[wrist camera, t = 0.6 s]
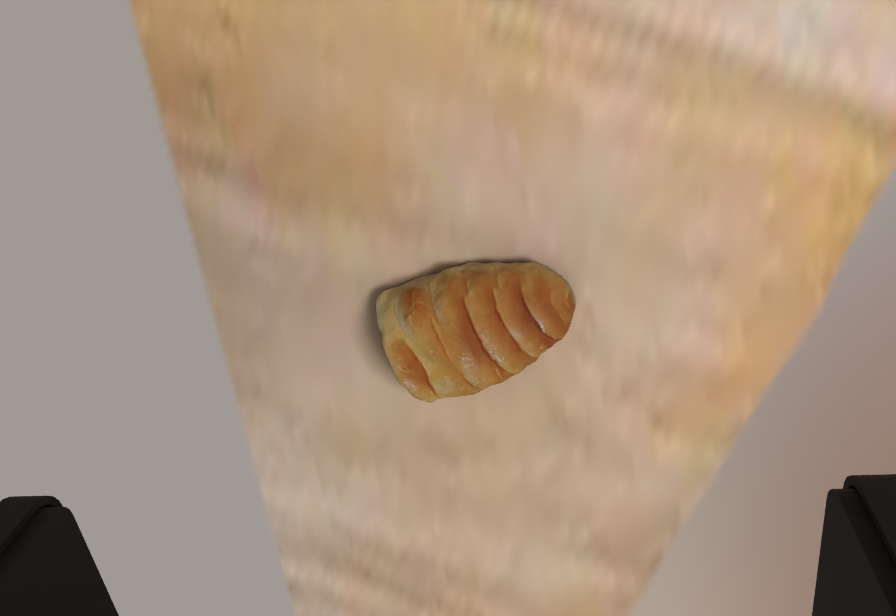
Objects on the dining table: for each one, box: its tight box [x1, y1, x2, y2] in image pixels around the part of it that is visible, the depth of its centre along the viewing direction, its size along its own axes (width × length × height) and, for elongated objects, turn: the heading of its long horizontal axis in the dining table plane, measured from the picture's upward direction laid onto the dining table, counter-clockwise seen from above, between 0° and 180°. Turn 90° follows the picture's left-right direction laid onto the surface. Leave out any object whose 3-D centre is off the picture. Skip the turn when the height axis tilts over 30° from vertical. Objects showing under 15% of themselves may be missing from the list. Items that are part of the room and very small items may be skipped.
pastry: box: [376, 262, 576, 403], centre depth 38 cm, size 9×7×4 cm
